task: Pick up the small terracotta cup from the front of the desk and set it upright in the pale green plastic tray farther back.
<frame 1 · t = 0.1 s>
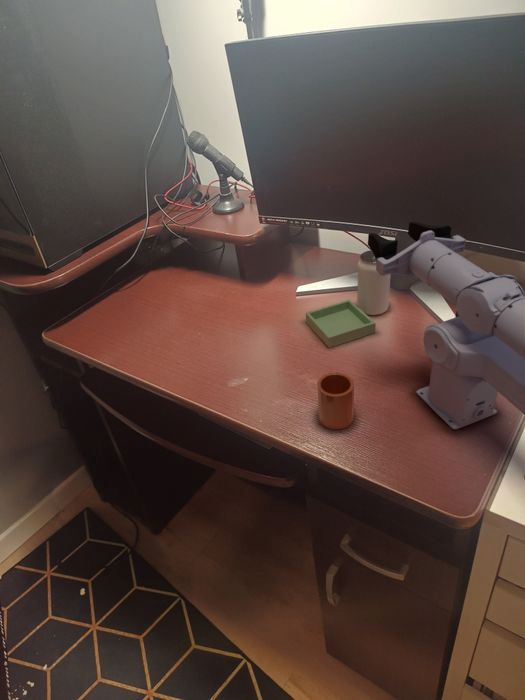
hand: (390, 233, 76), 22 cm above the table, tool horizontal, fingers open, 7 cm apart
cup: (336, 417, 74), on the table
can: (372, 308, 98), on the table
pill bottle: (462, 367, 80), on the table
tray: (339, 327, 93), on the table
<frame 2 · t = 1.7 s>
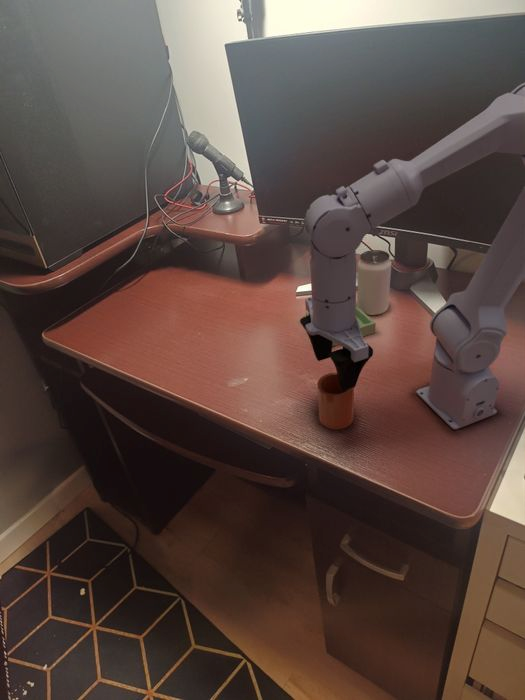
hand: (335, 372, 68), 9 cm above the table, tool pointing down, fingers open, 7 cm apart
nothing on the table moved.
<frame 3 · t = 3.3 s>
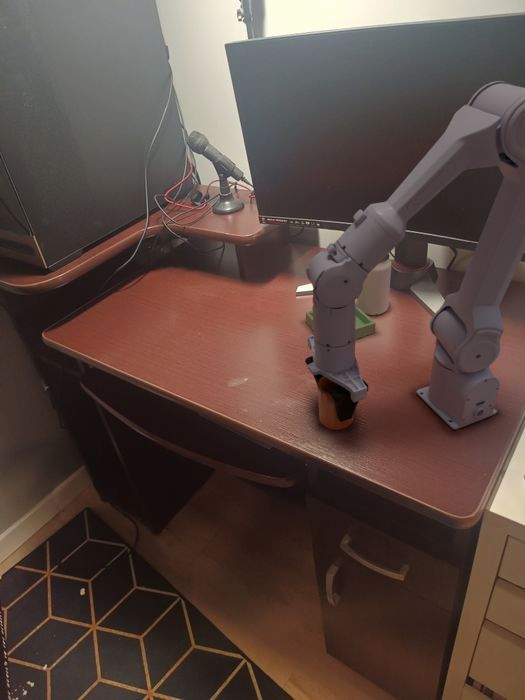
hand: (335, 406, 72), 2 cm above the table, tool pointing down, fingers closed on cup, 5 cm apart
cup: (336, 417, 74), on the table, touching gripper
everything else where it was.
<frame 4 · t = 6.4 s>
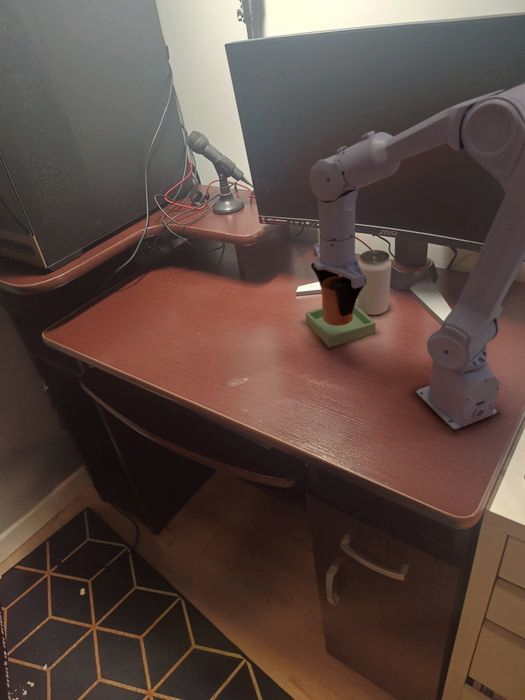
hand: (337, 305, 82), 9 cm above the table, tool pointing down, fingers closed on cup, 5 cm apart
cup: (337, 317, 84), point 7 cm above the table, touching gripper
everything else where it was.
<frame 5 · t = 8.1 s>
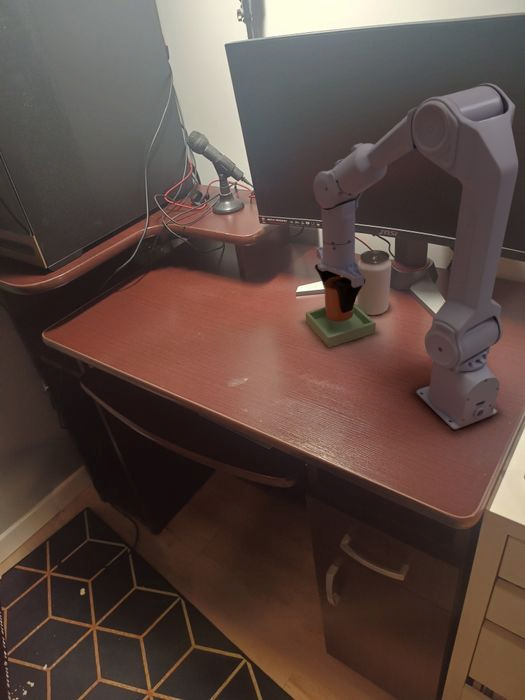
hand: (339, 303, 90), 6 cm above the table, tool pointing down, fingers closed on cup, 5 cm apart
cup: (339, 314, 91), point 3 cm above the table, touching gripper
everything else where it was.
when the fingers open (3 cm above the table, at t = 9.5 s): cup stays where it is, resting on tray.
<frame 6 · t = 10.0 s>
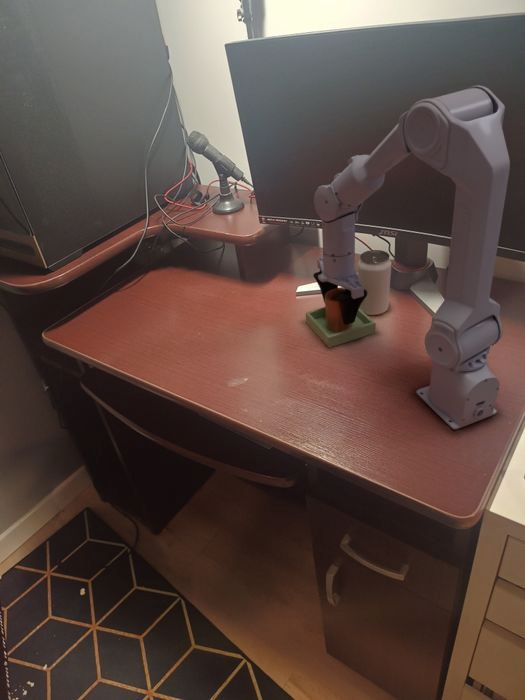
hand: (339, 313, 91), 3 cm above the table, tool pointing down, fingers open, 7 cm apart
cup: (339, 325, 93), point 1 cm above the table, touching tray
everything else where it was.
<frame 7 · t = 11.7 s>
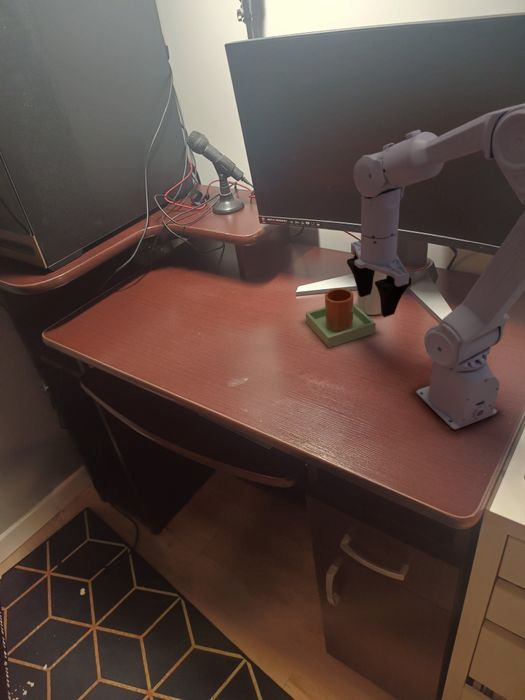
hand: (376, 304, 81), 9 cm above the table, tool pointing down, fingers open, 7 cm apart
nothing on the table moved.
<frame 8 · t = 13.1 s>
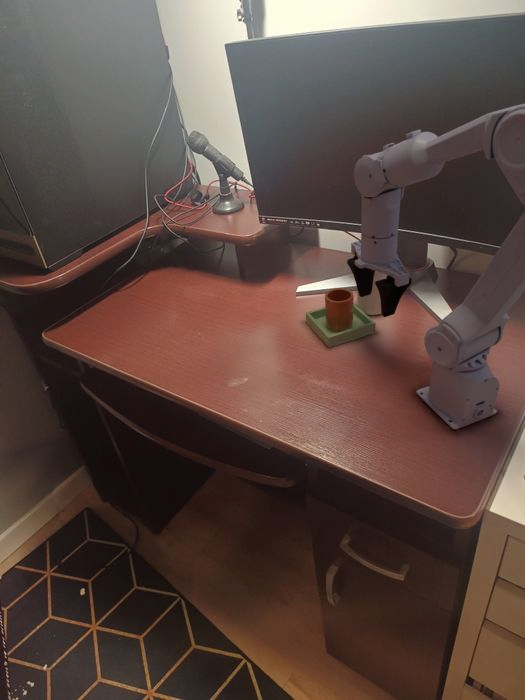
hand: (376, 304, 81), 9 cm above the table, tool pointing down, fingers open, 7 cm apart
nothing on the table moved.
at the end: cup 0.1 cm off-centre in the tray, point 0.6 cm above the tray's base; cup tilted 0° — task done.
